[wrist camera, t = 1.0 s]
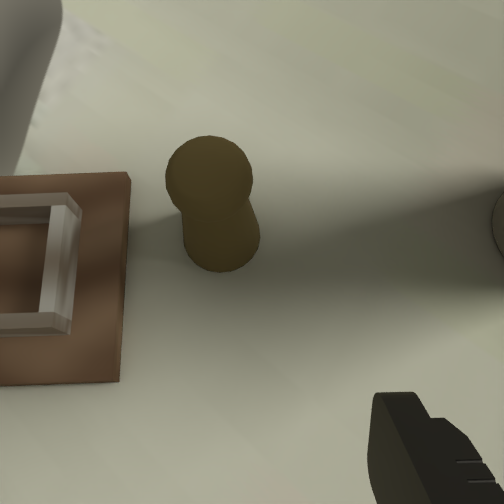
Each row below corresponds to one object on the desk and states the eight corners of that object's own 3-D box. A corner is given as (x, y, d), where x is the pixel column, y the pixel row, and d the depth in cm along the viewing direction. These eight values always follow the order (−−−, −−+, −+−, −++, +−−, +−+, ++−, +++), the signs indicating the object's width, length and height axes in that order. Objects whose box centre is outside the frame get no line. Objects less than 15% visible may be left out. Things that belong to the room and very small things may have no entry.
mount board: (-63, 188, 38) (-103, 159, 34) (131, 180, 38) (115, 151, 34) (-106, 390, 33) (-160, 386, 29) (119, 381, 33) (98, 376, 29)
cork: (209, 287, 35) (187, 233, 25) (169, 226, 37) (133, 151, 27) (275, 245, 36) (281, 177, 26) (233, 187, 38) (222, 101, 28)
